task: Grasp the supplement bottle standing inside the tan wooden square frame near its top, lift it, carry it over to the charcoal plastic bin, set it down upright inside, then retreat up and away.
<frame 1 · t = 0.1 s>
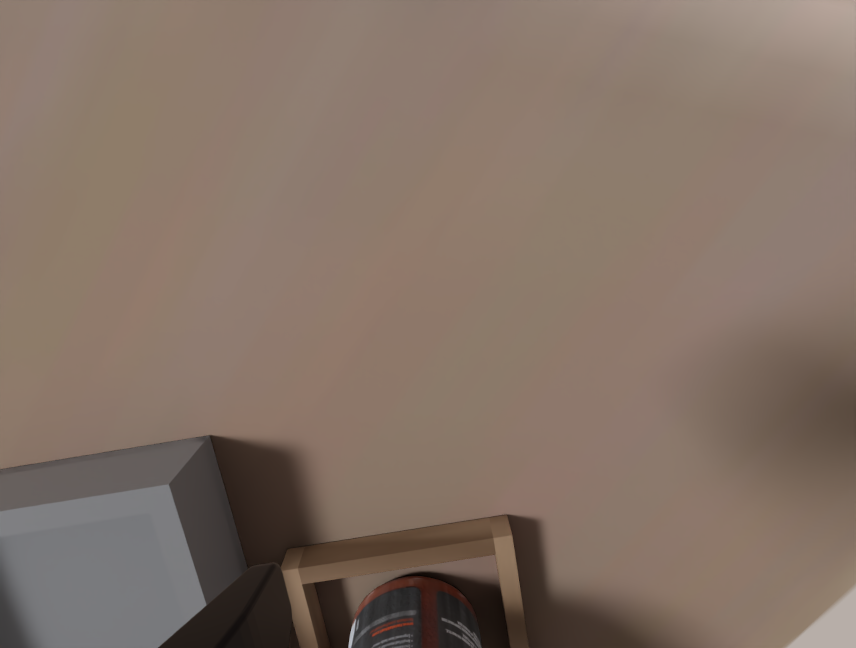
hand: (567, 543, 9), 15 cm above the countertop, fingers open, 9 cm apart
supplement bottle: (415, 620, 27), resting in tan wooden square frame
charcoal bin: (100, 597, 26), on the countertop
tan wooden square frame: (415, 624, 26), on the countertop
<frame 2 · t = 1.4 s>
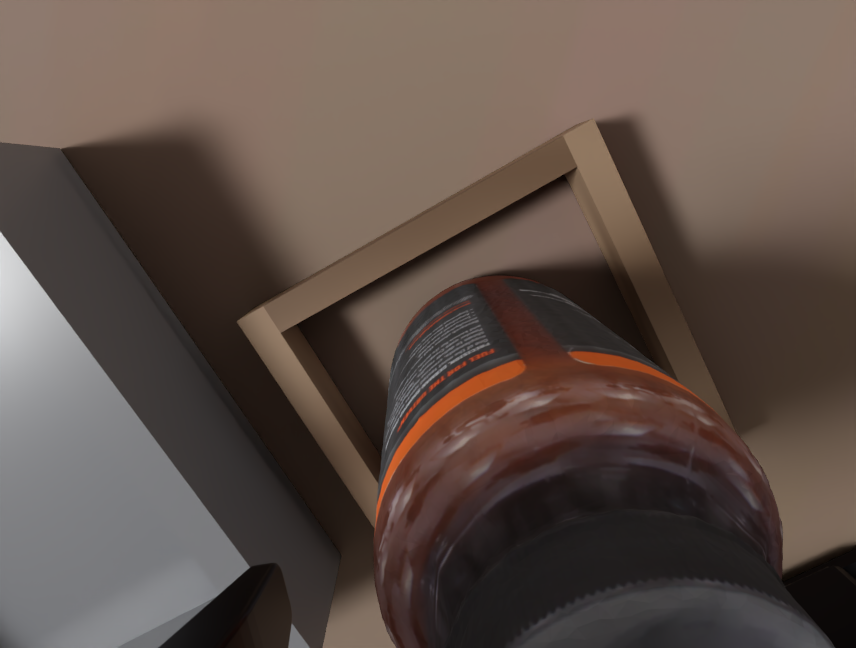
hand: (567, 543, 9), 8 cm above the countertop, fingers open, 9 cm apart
supplement bottle: (493, 370, 16), resting in tan wooden square frame
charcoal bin: (19, 480, 17), on the countertop
tan wooden square frame: (494, 372, 16), on the countertop
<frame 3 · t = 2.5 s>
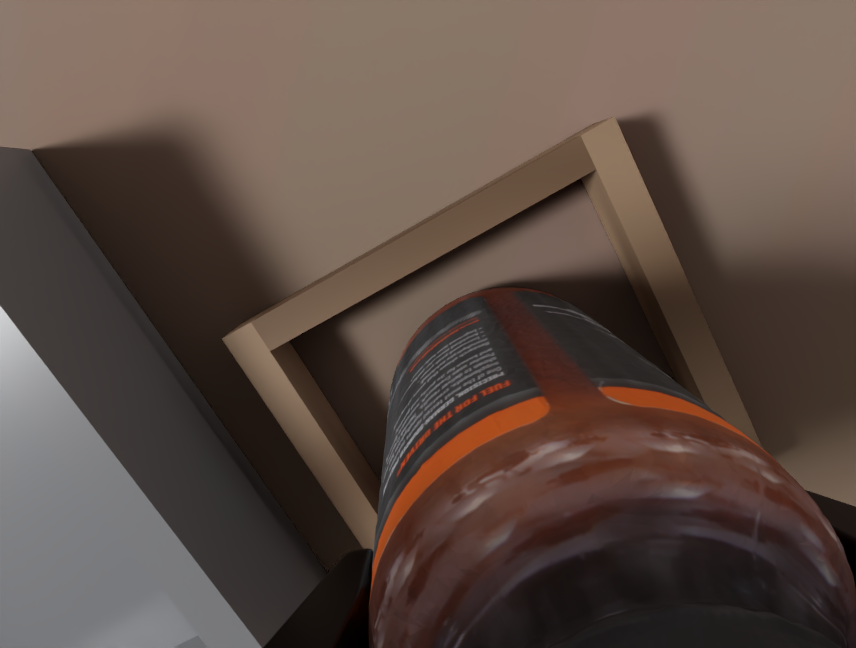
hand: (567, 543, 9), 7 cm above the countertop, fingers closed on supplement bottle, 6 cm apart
supplement bottle: (501, 389, 15), resting in tan wooden square frame, touching gripper
tan wooden square frame: (503, 392, 15), on the countertop
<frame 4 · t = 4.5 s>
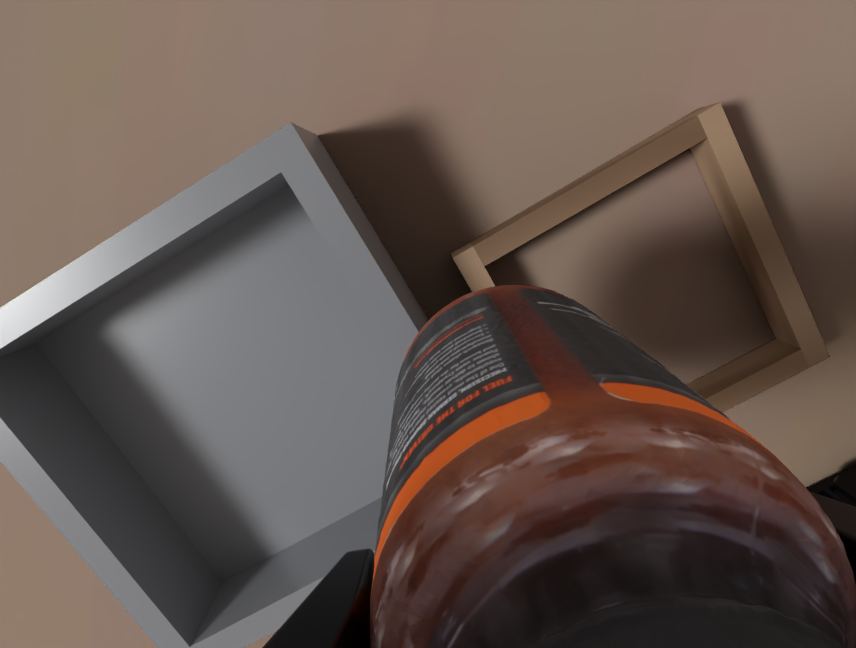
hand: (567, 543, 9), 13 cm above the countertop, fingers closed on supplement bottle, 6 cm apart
supplement bottle: (507, 386, 15), point 6 cm above the countertop, touching gripper
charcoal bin: (264, 391, 22), on the countertop
tan wooden square frame: (630, 300, 21), on the countertop
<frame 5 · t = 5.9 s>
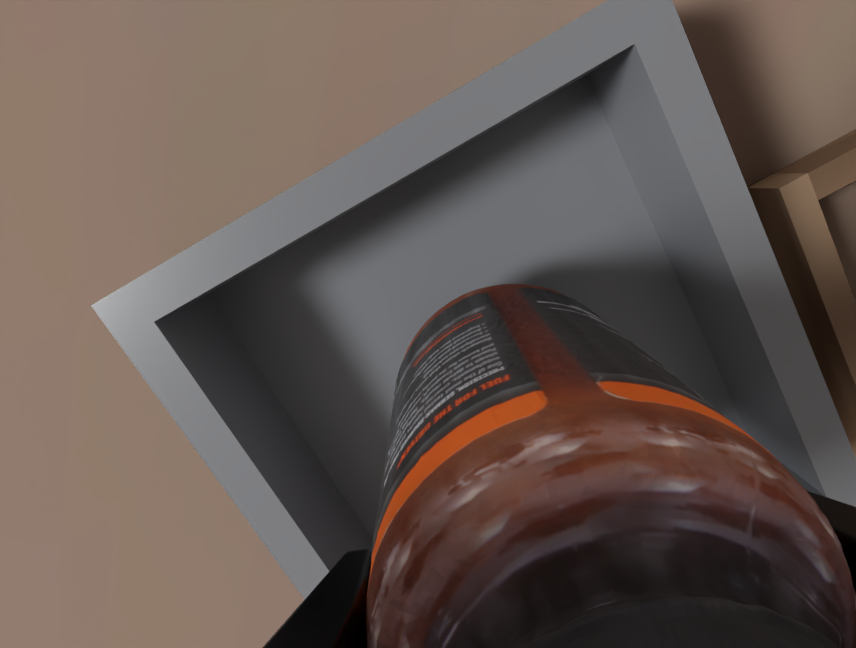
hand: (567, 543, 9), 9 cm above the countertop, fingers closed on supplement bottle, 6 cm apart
supplement bottle: (506, 385, 15), point 2 cm above the countertop, touching gripper
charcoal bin: (487, 362, 17), on the countertop
when the fingers open (9 cm above the countertop, at t = 6.8 s): supplement bottle drops 1 cm, resting on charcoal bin.
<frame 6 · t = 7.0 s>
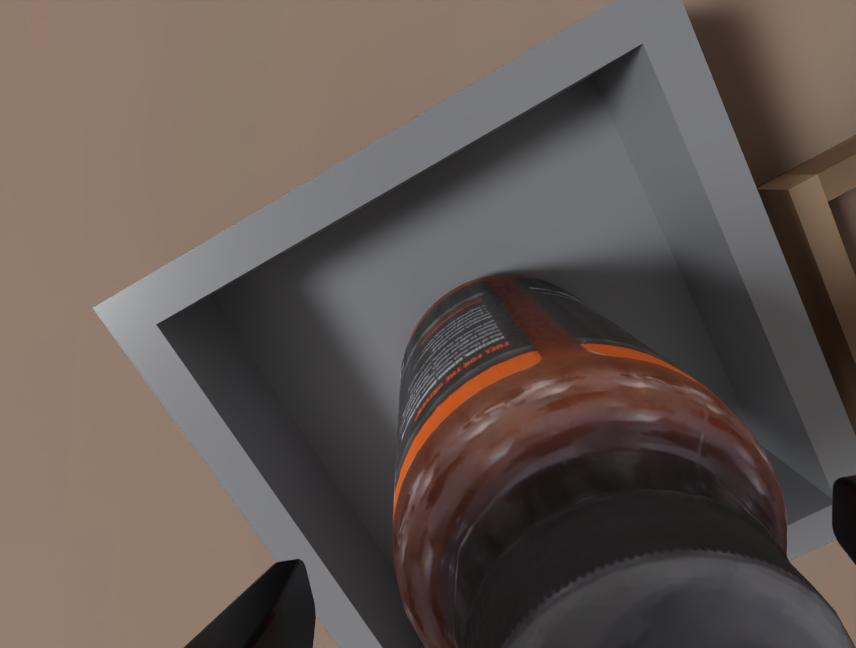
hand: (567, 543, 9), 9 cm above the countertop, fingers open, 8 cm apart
supplement bottle: (501, 367, 17), resting on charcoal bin
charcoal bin: (492, 365, 17), on the countertop
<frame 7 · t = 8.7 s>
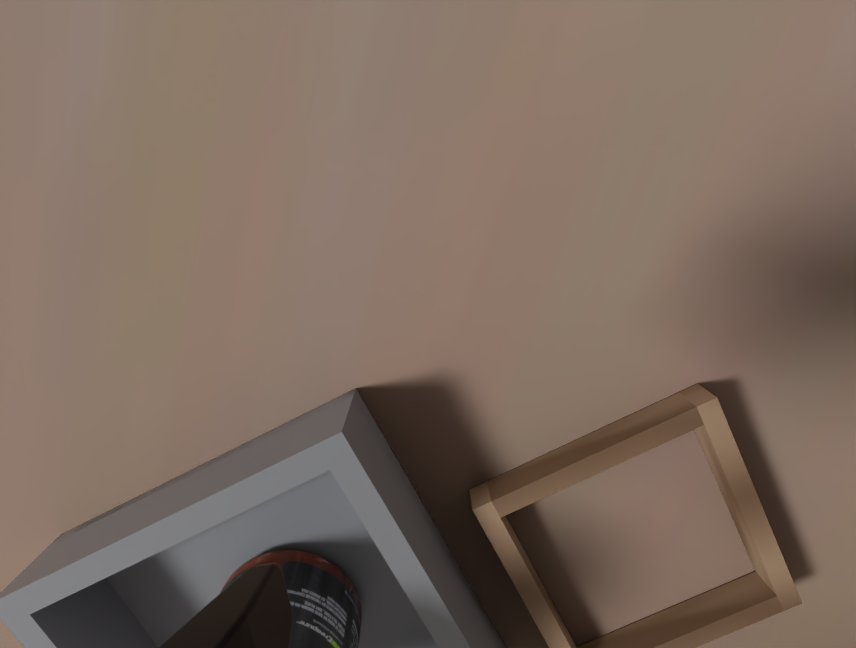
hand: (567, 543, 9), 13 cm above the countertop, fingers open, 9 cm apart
supplement bottle: (294, 600, 24), resting on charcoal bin
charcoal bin: (292, 595, 24), on the countertop
tan wooden square frame: (628, 534, 24), on the countertop
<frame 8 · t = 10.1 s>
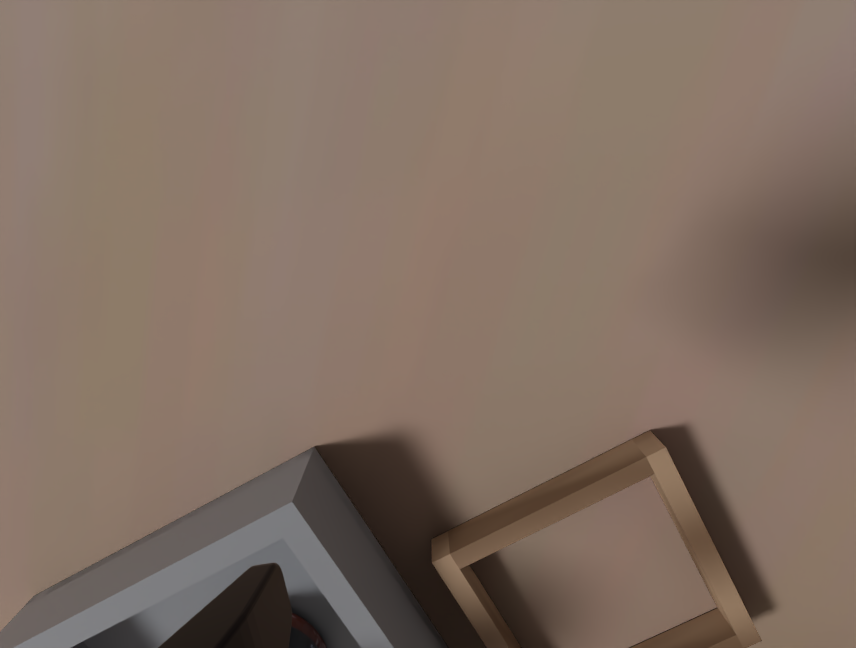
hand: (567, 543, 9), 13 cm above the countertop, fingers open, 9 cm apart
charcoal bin: (263, 645, 25), on the countertop
tan wooden square frame: (589, 577, 24), on the countertop
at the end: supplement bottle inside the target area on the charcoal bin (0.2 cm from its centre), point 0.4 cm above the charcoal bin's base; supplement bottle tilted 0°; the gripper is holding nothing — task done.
